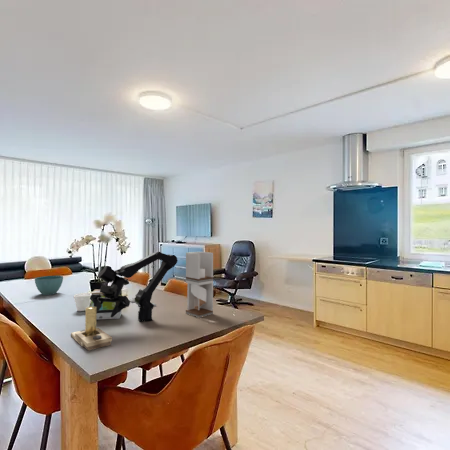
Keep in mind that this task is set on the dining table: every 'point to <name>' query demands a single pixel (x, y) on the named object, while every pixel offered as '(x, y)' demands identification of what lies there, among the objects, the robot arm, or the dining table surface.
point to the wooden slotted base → (92, 339)
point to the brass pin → (90, 321)
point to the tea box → (106, 308)
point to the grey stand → (199, 283)
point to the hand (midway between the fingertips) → (102, 316)
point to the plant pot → (48, 284)
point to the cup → (82, 301)
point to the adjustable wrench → (134, 301)
